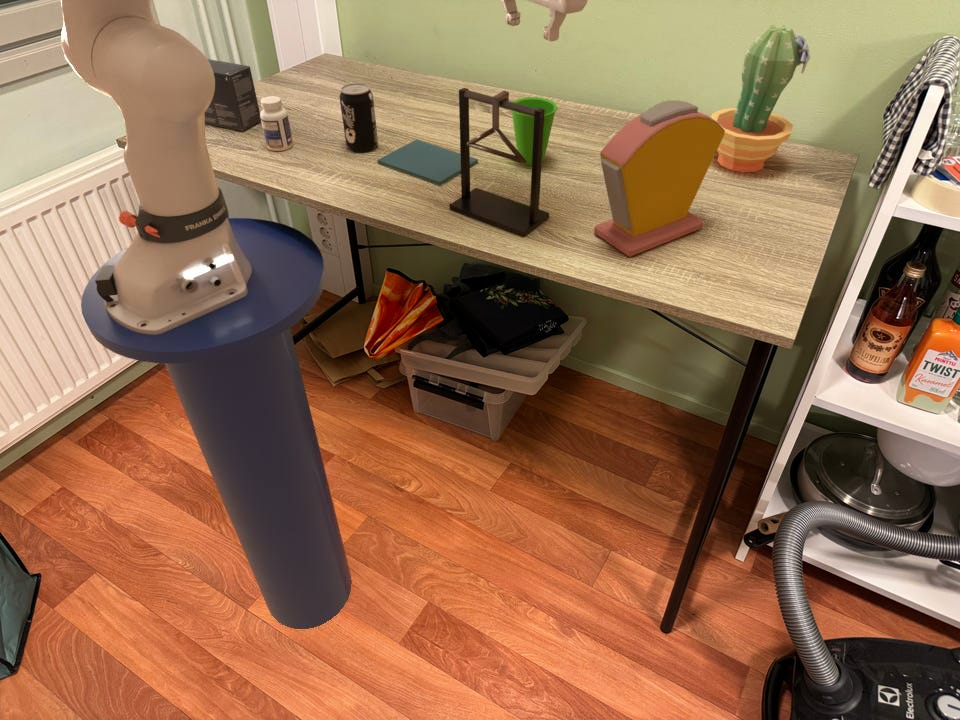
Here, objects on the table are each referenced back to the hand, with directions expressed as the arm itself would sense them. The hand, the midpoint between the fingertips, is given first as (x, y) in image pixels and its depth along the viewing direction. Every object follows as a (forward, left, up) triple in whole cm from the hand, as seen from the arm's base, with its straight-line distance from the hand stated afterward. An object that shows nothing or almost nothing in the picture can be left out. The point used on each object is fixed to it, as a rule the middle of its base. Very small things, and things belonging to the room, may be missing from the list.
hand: (531, 32), depth 104 cm
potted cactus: (+39, -26, -29) cm, 55 cm away
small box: (-8, +73, -29) cm, 80 cm away
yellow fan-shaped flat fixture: (+4, -23, -29) cm, 37 cm away
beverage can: (0, +40, -29) cm, 50 cm away
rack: (-6, +1, -29) cm, 30 cm away
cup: (+15, +8, -29) cm, 34 cm away
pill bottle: (-10, +54, -29) cm, 63 cm away
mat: (+2, +24, -29) cm, 38 cm away
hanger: (-6, +1, -13) cm, 14 cm away
